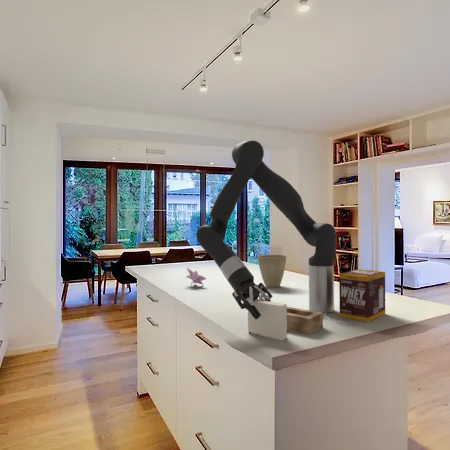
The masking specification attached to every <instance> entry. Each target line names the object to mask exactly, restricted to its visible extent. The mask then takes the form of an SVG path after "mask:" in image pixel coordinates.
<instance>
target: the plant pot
mask: <svg viewBox="0 0 450 450" xmlns="http://www.w3.org/2000/svg"><path fill="white" fill-rule="evenodd" d="M257 260H258V261H257V262H258V266H259V271H260V274H261V277H262V280H263V285H264V286H265V287H266V288H279V287H281V284H282V280H283V277H284V273H285V268H286V264H287V261H286V260H287V255H284V254H264V255H263V254H261V255H257Z"/></svg>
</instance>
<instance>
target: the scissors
mask: <svg viewBox="0 0 450 450" xmlns="http://www.w3.org/2000/svg"><path fill="white" fill-rule="evenodd" d="M323 320H327V321H330V322H333V323H335V324H337V325H339V326H341V327H344V328H346V326H344V325H343V324H347V325H350V322H349V323H348V322H346V321H345V322H344V321H341V320H337V319H333V318H331V317H329V316H328V313H323ZM341 323H343V324H341ZM352 325H354V324H353V323H351V326H352Z"/></svg>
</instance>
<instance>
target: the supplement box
mask: <svg viewBox="0 0 450 450" xmlns="http://www.w3.org/2000/svg"><path fill="white" fill-rule="evenodd" d="M338 275H339V276H338V278H339V281H338V282H339V287H338V288H339V291H338V292H339V318H345V319H349V320H353V321H354V320H355V321H358V322H359V321H360V322H363V323H369V322H372V321H373V320H375V319H378V318H380V317H382V316H384V315H386V271H381V270H373V269H372V270H370V269H361V268H360V269H358V268H357V269H354V270H350V271H346V272H345V271H344V272H340V273H339V274H338Z"/></svg>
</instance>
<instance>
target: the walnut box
mask: <svg viewBox="0 0 450 450" xmlns="http://www.w3.org/2000/svg"><path fill="white" fill-rule="evenodd" d="M323 314H324V313H322V312H316V311H310V310H309V309H304V308H297V307H291V306H287V331H290V332H297V333H300V334H306V335H312V334H314V333H315V332H317V331H319V330H321V329H323V328H324V327H323V326H324V319H323V317H324V315H323Z"/></svg>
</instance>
